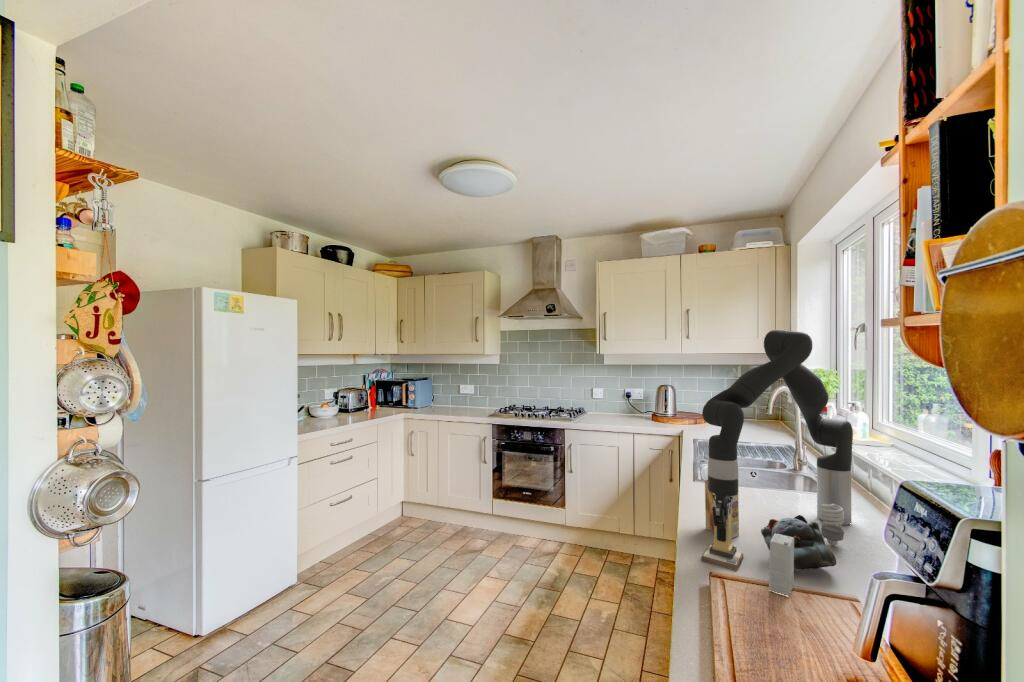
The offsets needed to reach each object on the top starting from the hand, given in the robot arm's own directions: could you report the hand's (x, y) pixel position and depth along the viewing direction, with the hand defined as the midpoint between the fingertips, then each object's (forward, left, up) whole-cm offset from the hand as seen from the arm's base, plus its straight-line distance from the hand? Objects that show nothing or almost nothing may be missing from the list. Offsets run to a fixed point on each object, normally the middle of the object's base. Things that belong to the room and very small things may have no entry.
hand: (723, 538), depth 121 cm
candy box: (-18, -4, -6) cm, 19 cm away
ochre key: (0, 0, -4) cm, 4 cm away
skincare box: (+9, +15, -6) cm, 18 cm away
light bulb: (-27, +24, -5) cm, 36 cm away
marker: (0, 0, -2) cm, 2 cm away
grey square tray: (+1, 0, -5) cm, 5 cm away
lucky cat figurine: (-6, +16, -6) cm, 18 cm away
